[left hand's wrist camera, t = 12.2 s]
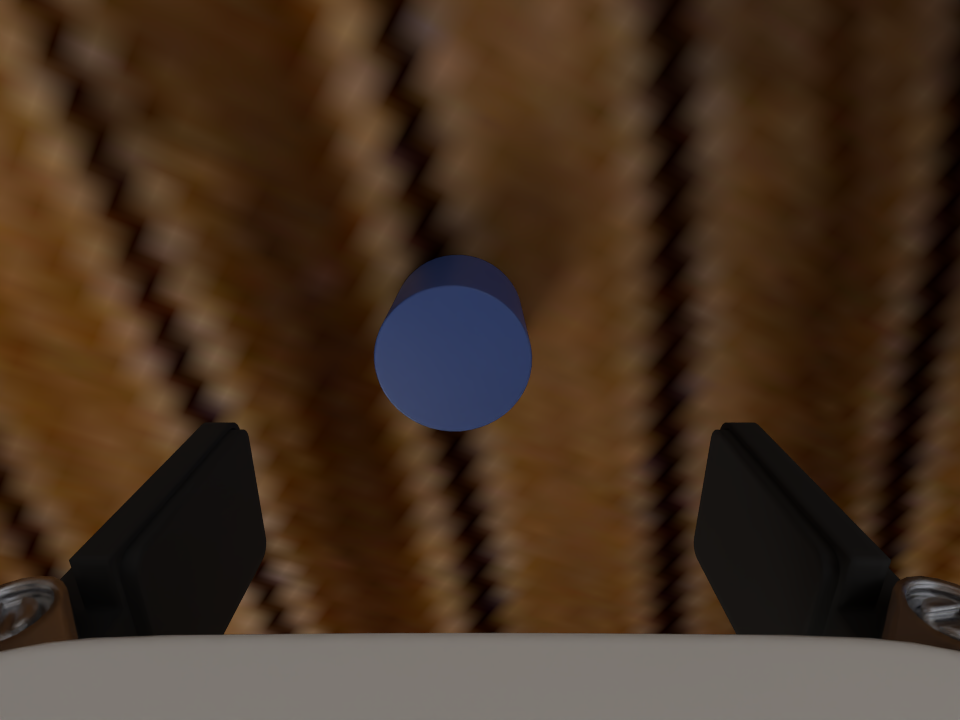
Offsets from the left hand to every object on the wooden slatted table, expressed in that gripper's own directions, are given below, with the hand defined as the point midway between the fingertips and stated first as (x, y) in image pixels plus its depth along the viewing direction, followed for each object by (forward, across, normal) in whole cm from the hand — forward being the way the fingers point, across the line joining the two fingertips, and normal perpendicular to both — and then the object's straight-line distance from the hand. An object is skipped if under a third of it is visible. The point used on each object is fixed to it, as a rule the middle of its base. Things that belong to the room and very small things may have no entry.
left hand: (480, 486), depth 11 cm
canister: (+9, +1, -1) cm, 9 cm away
